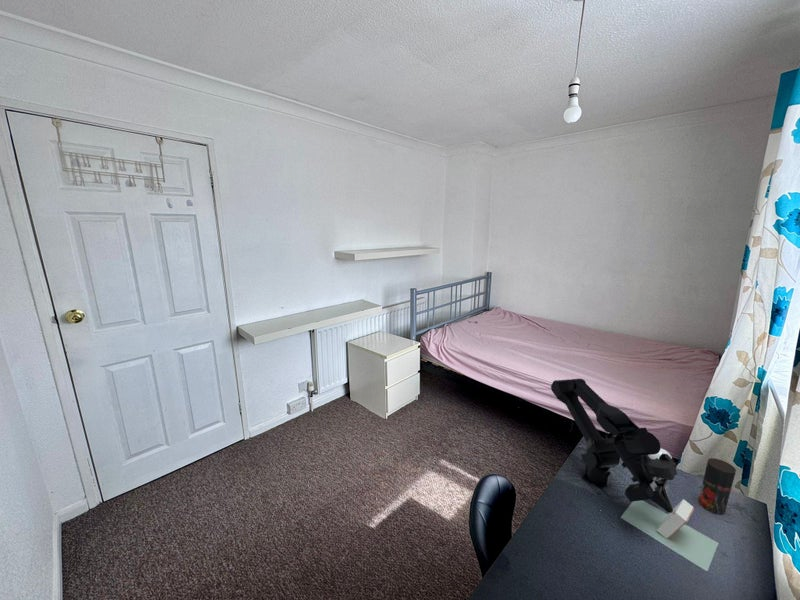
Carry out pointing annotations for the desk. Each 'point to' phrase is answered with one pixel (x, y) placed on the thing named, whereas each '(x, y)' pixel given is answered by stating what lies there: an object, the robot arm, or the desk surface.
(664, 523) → the block
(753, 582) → the desk surface
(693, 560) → the mat
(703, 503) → the deodorant
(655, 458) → the lightbulb
